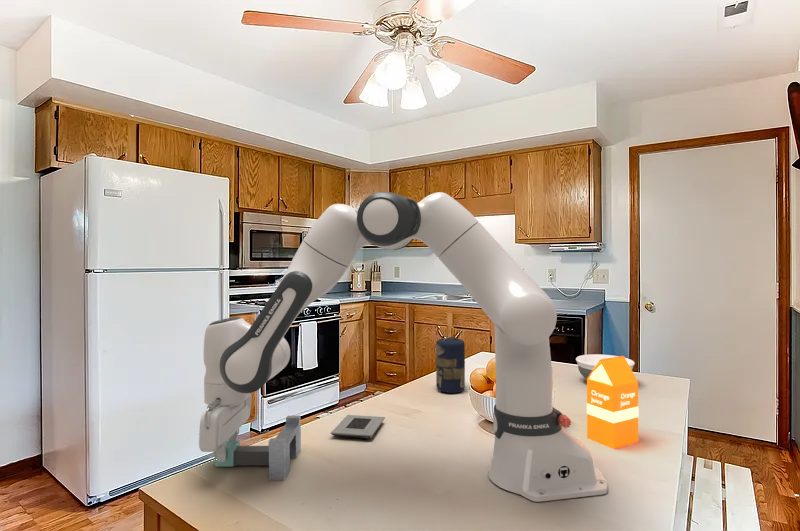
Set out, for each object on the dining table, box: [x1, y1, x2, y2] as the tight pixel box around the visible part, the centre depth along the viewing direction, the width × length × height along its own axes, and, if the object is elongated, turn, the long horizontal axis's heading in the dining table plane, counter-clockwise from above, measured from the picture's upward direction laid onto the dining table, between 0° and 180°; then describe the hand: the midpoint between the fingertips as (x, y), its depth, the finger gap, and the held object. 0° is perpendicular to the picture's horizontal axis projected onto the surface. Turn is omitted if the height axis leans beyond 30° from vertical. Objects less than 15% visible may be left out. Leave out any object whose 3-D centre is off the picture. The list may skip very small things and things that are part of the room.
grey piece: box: [268, 415, 302, 481], centre depth 101 cm, size 3×15×8 cm, turn 179°
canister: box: [435, 336, 466, 394], centre depth 154 cm, size 10×10×18 cm
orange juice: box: [586, 355, 639, 450], centre depth 112 cm, size 8×9×20 cm
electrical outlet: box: [330, 414, 386, 439], centre depth 120 cm, size 13×10×2 cm
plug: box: [210, 439, 269, 467], centre depth 101 cm, size 14×4×4 cm, turn 89°
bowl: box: [575, 353, 636, 380], centre depth 161 cm, size 19×19×8 cm
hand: (227, 454), depth 101 cm, fingers closed on plug, 4 cm apart
